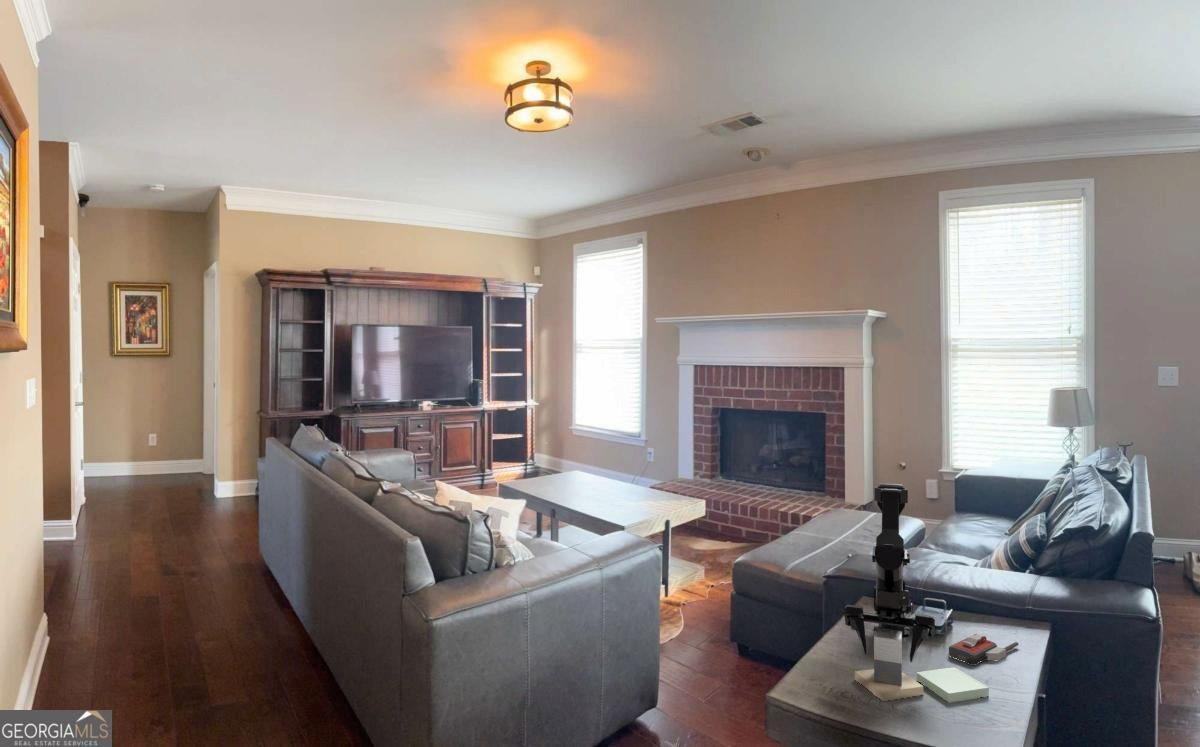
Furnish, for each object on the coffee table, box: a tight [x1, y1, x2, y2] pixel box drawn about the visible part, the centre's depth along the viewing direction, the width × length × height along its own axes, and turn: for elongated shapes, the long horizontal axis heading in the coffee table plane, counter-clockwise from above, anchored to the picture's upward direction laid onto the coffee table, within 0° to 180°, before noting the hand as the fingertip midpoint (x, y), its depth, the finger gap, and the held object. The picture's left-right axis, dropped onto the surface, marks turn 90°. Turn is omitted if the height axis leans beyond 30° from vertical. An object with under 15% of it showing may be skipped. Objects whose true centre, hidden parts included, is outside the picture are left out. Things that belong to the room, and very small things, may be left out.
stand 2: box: [915, 666, 990, 704], centre depth 150 cm, size 10×10×2 cm
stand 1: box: [854, 668, 924, 702], centre depth 151 cm, size 10×10×2 cm
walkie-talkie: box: [948, 633, 1019, 665], centre depth 168 cm, size 9×4×20 cm
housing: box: [873, 627, 903, 687], centre depth 151 cm, size 6×6×10 cm
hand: (887, 657), depth 149 cm, fingers open, 9 cm apart
